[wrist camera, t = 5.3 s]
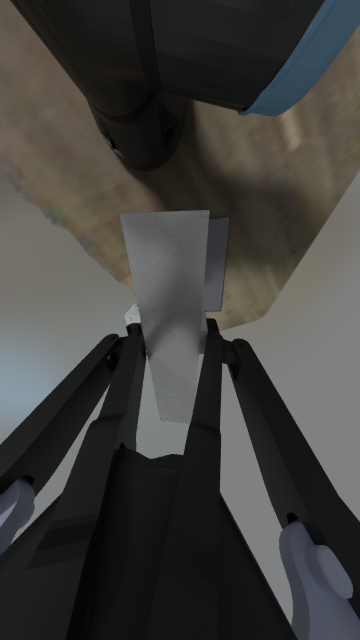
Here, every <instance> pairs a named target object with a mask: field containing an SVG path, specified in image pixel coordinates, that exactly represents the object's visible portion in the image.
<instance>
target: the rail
mask: <svg viewBox="0 0 360 640" xmlns="http://www.w3.org/2000/svg"><path fill="white" fill-rule="evenodd" d="M120 218H121V223H122V229H123V234H124V239H125V244H126V249H127V254H128V259H129V264H130V269H131V274H132V279H133V284H134V289H135V294H136V299H137V304H138V310H139V315H140V320H141V325H142V330H143V335H144V340H145V345H146V350H147V355H148V360H149V365H150V370H151V375H152V380H153V385H154V391H155V395H156V400H157V406H158V411H159V416H160V420H162V421H171V422H182V423H190V422H191V419H192V414H193V408H194V403H195V392H196V380H197V366H198V354H199V341H200V328H201V315H202V301H203V288H204V275H205V262H206V249H207V236H208V223H209V210H198V211H171V212H144V213H120Z"/></svg>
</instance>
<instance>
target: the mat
mask: <svg viewBox="0 0 360 640" xmlns="http://www.w3.org/2000/svg"><path fill="white" fill-rule="evenodd" d="M229 220H230V217H227V218H216V219H209V223H208V236H207V249H206V262H205V275H204V288H203V303H204V309H205V311H221V301H222V291H223V281H224V271H225V261H226V250H227V240H228V230H229Z"/></svg>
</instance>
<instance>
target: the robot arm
mask: <svg viewBox="0 0 360 640" xmlns="http://www.w3.org/2000/svg"><path fill="white" fill-rule="evenodd" d="M10 1H11V2H12V3H13V5H14V6H15V7H16V9H17V10H18V11H19V12H20V14H21V15H22V16H23V17H24V19H25V20H26V21H27V23H28V24H29V25H30V26H31V28H32V29H33V30H34V32H35V33H36V34H37V35H38V37H39V38H40V39H41V41H42V42H43V43H44V44H45V46H46V47H47V48H48V50H49V51H50V52H51V53H52V55H53V56H54V57H55V59H56V60H57V61H58V62H59V64H60V65H61V66H62V68H63V69H64V70H65V71H66V73H67V74H68V75H69V77H70V78H71V79H72V81H73V82H74V83H75V84H76V86H77V87H78V88H79V90H80V91H81V92H82V93H83V95H84V96H85V97H86V99H87V102H88V104H89V107H90V109H91V112H92V114H93V117H94V119H95V121H96V124H97V126H98V128H99V130H100V132H101V134H102V136H103V138H104V139H105V141H106V142H107V144H108V145H109V147H110V148H111V149H112V150H113V151H114V153H115V154H116V155H117V156H118V157H119V158H120V159H121V160H122V161H123V162H124V163H126V164H127V165H128V166H130V167H132V168H134V169H137V170H141V171H149V170H153V169H156V168H158V167H160V166H161V165H163V164H164V163H165V162H166V161H167V160H168V159H169V158H170V156H171V155H172V154H173V152H174V150H175V148H176V147H177V144H178V142H179V140H180V137H181V134H182V130H183V126H184V121H185V114H186V98H188V99H192V100H196V101H200V102H204V103H208V104H212V105H216V106H220V107H224V108H228V109H232V110H236V111H238V114H239V115H242V116H244V115H247V114H249V113H255V114H262V115H268V116H277V115H280V114H283V113H284V112H286V111H287V110H288V109H290V108H291V107H292V106H293V105H294V104H296V103H297V102H299V101H300V100H301V99H302V98H303V97H304V96H305V95H306V94H307V93H308V92H309V90H310V89H311V88H312V87H313V86H314V85H315V83H316V82H317V81H318V80H319V79H320V77H321V76H322V75H323V74H324V72H325V71H326V70H327V69H328V67H329V66H330V65H331V63H332V62H333V61H334V59H335V58H336V57H337V55H338V54H339V53H340V51H341V50H342V48H343V47H344V46H345V44H346V43H347V41H348V40H349V39H350V37H351V36H352V34H353V33H354V31H355V30H356V29H357V27H358V26H359V24H360V0H10ZM126 329H127V333H128V336H126V337H120V338H119V336H118V334H110V335H108V336H106V337H104V338H103V339H102V341H100V342H99V344H98V345H97V346H96V347H95V348H94V349H93V350H92V351H91V352H90V353H89V354H88V355H87V356H86V357H85V358H84V359H83V360H82V361H81V362H80V363H79V364H78V365H77V366H76V367H75V368H74V369H73V370H72V371H71V372H70V373H69V374H68V376H67V377H66V378H65V379H64V380H63V381H62V382H61V383H60V384H59V385H58V386H57V387H56V388H55V389H54V390H53V391H52V392H51V393H50V394H49V395H48V396H47V397H46V398H45V399H44V400H43V401H42V402H41V403H40V404H39V405H38V406H37V407H36V408H35V409H34V411H33V412H32V413H31V414H30V415H29V416H28V417H27V418H26V419H25V420H24V421H23V422H22V423H21V424H20V425H19V426H18V427H17V428H16V429H15V430H14V431H13V432H12V433H11V434H10V435H9V436H8V438H7V439H5V441H3V442H2V444H1V445H0V640H360V522H359V520H358V519H357V518H356V517H355V515H354V514H353V513H352V512H351V510H350V509H349V508H348V507H347V505H346V504H345V503H344V502H343V501H342V499H341V498H340V497H339V496H338V494H337V492H336V490H335V489H334V487H333V485H332V483H331V482H330V480H329V479H328V477H327V475H326V473H325V472H324V470H323V468H322V466H321V465H320V463H319V461H318V460H317V458H316V456H315V455H314V453H313V451H312V449H311V448H310V446H309V444H308V443H307V441H306V439H305V438H304V436H303V434H302V432H301V431H300V429H299V427H298V426H297V424H296V422H295V420H294V419H293V417H292V416H291V414H290V412H289V411H288V409H287V407H286V405H285V404H284V402H283V400H282V399H281V397H280V395H279V393H278V392H277V390H276V388H275V387H274V385H273V383H272V381H271V380H270V378H269V376H268V375H267V373H266V371H265V369H264V368H263V366H262V364H261V363H260V361H259V359H258V358H257V356H256V354H255V352H254V351H253V349H252V347H251V346H250V344H249V343H248V342H247V341H245V340H243V339H234V340H233V342H231V341H227V340H225V339H223V337H222V336H221V335H220V333H219V329H218V325H217V322H216V320H215V319H212V318H206V316H205V309H204V303H203V301H202V315H201V328H200V341H199V354H204V358H203V363H202V368H201V373H200V378H199V383H198V388H197V394H196V398H195V403H194V408H193V414H192V419H191V422H190V426H189V430H188V435H187V440H186V445H185V450H184V455H177V454H170V455H166V456H162V457H158V458H154V459H149V458H147V457H145V456H143V455H142V454H140V453H138V452H136V431H137V424H138V416H139V409H140V401H141V394H142V386H143V379H144V371H145V364H146V356H147V352H146V345H145V340H144V335H143V330H142V325H141V322H140V323H131V324H129V325H127V327H126ZM108 357H109V358H108ZM222 363H225V364H227V365H228V368H229V372H230V375H231V378H232V381H233V384H234V388H235V391H236V394H237V397H238V400H239V404H240V407H241V410H242V413H243V416H244V420H245V423H246V426H247V429H248V432H249V436H250V439H251V442H252V445H253V448H254V452H255V455H256V458H257V461H258V464H259V468H260V471H261V474H262V477H263V480H264V484H265V486H266V489H267V492H268V495H269V498H270V500H271V503H272V506H273V508H274V511H275V513H276V515H277V518H278V520H279V522H280V525H281V527H282V529H283V530H282V532H281V535H280V538H279V549H280V554H281V559H282V562H283V565H284V568H285V571H286V574H287V577H288V580H289V583H290V587H291V593H292V598H293V618H292V624H291V625H290V623H289V622H288V620H287V618H286V616H285V614H284V612H283V610H282V608H281V606H280V605H279V603H278V601H277V599H276V597H275V595H274V593H273V591H272V589H271V588H270V586H269V584H268V582H267V580H266V578H265V576H264V574H263V573H262V571H261V569H260V567H259V565H258V563H257V561H256V559H255V557H254V555H253V554H252V552H251V550H250V548H249V546H248V544H247V542H246V541H245V539H244V537H243V535H242V533H241V531H240V529H239V527H238V525H237V523H236V522H235V520H234V518H233V516H232V514H231V512H230V510H229V508H228V506H227V504H226V502H225V501H224V499H223V497H222V495H221V493H220V462H221V461H220V460H221V433H220V410H221V384H222ZM110 383H111V384H110ZM109 384H110V386H109ZM108 386H109V389H108V392H107V395H106V397H105V401H104V403H103V406H102V409H101V411H100V415H99V416H98V418H97V419H96V420H94V421H92V423H91V424H90V425H89V428H88V430H87V432H86V435H85V437H84V440H83V442H82V445H81V448H80V450H79V453H78V455H77V458H76V460H75V463H74V465H73V468H72V470H71V473H70V476H69V478H68V481H67V483H66V486H65V488H64V490H63V492H62V494H61V495H60V496H59V497H57V498H56V499H55V501H53V503H52V504H51V505H50V506H49V507H48V508H47V509H46V510H45V511H44V512H43V513H42V514H41V515H40V516H39V517H38V518H37V519H36V520H35V521H34V522H33V523H32V524H31V525H30V526H29V527H28V528H27V529H26V530H25V531H24V532H23V533H22V534H21V535H20V536H19V537H18V538H17V539H16V540H15V541H14V542H13V543H12V544H11V542H12V540H13V537H14V536H15V534H16V532H17V531H18V529H20V528H21V527H23V526H24V525H25V524H26V523H27V522H28V521H29V519H30V518H31V516H32V514H33V512H34V508H35V506H34V503H33V502H34V498H35V497H36V495H37V494H38V493H39V492H40V491H41V490H42V488H43V487H44V486H45V484H46V483H47V482H48V480H49V479H50V477H51V476H52V475H53V473H54V472H55V470H56V469H57V467H58V466H59V465H60V463H61V462H62V460H63V458H64V457H65V455H66V454H67V452H68V450H69V449H70V447H71V446H72V444H73V442H74V441H75V439H76V438H77V436H78V434H79V433H80V431H81V429H82V428H83V426H84V424H85V423H86V421H87V420H88V418H89V417H90V415H91V413H92V412H93V410H94V408H95V407H96V405H97V404H98V402H99V400H100V399H101V397H102V396H103V394H104V392H105V391H106V389H107V388H108ZM10 544H11V545H10Z"/></svg>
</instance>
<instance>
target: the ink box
mask: <svg viewBox="0 0 360 640" xmlns="http://www.w3.org/2000/svg"><path fill="white" fill-rule="evenodd" d="M125 319H126V322H127V325H129V324H131V323H140V322H141V320H140V315H139V310H138V304H137V302H136V303H135V304H134V305H133V306H132V307H131V308H130V310H129V311H128V312H127V313H126V314H125Z"/></svg>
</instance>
